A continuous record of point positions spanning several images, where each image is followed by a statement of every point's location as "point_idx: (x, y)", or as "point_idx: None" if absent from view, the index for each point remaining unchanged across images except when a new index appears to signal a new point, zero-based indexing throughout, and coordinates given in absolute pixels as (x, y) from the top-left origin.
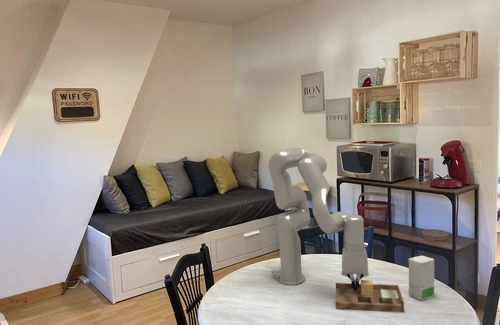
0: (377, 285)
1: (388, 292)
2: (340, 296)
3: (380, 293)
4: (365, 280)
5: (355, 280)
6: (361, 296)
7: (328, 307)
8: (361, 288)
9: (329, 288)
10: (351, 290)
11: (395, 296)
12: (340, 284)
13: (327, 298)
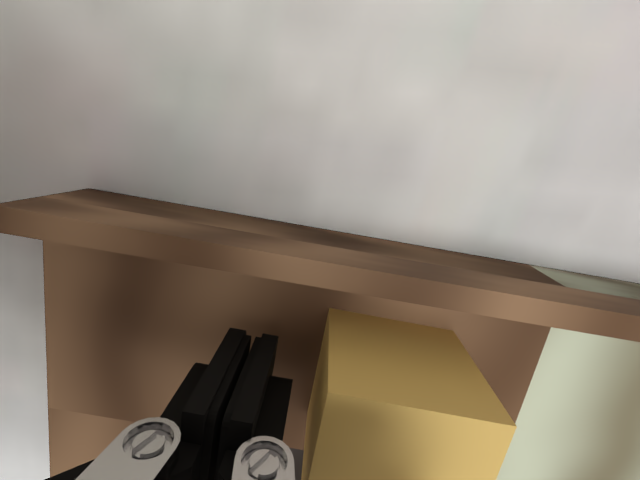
0: (555, 325)
1: (609, 389)
2: (94, 425)
3: (513, 401)
4: (398, 428)
5: (216, 478)
6: (299, 442)
7: (32, 452)
8: (302, 477)
9: (17, 71)
10: (220, 305)
11: (632, 472)
12: (66, 241)
13: (13, 307)
